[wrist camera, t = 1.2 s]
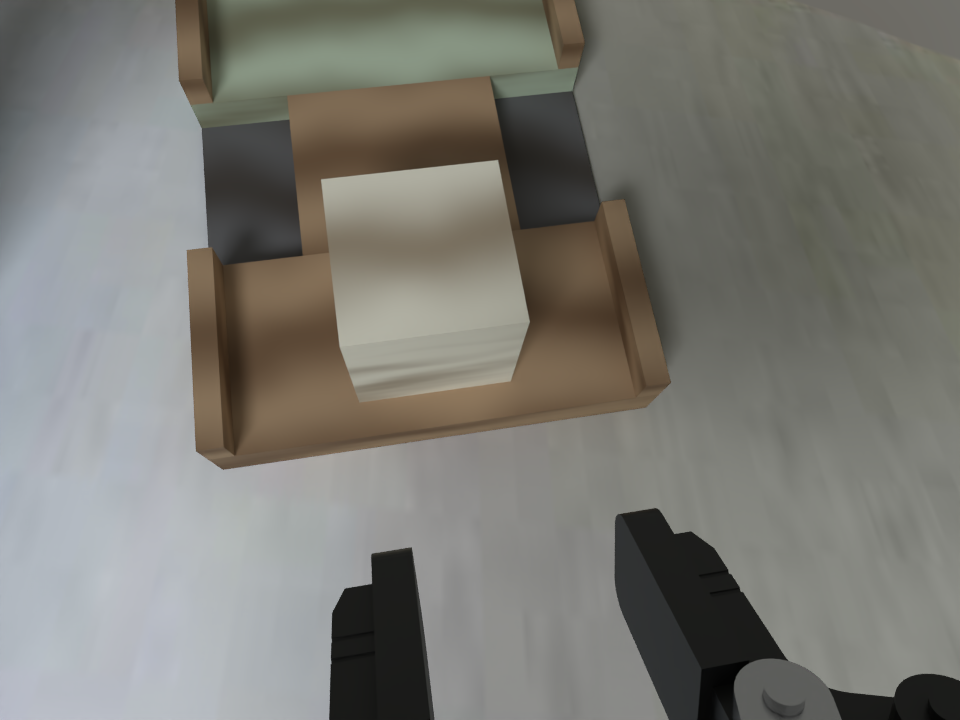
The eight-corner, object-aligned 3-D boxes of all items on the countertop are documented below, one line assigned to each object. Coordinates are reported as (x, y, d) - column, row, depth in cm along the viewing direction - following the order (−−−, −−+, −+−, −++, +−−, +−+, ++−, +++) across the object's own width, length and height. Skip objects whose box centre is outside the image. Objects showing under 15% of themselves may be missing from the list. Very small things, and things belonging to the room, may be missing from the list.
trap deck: (645, 407, 40) (677, 376, 35) (223, 469, 38) (189, 446, 32) (537, -46, 50) (549, -123, 44) (195, -18, 47) (165, -96, 42)
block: (510, 381, 37) (529, 321, 30) (359, 402, 37) (339, 347, 29) (485, 246, 40) (497, 160, 32) (343, 264, 39) (320, 179, 31)
